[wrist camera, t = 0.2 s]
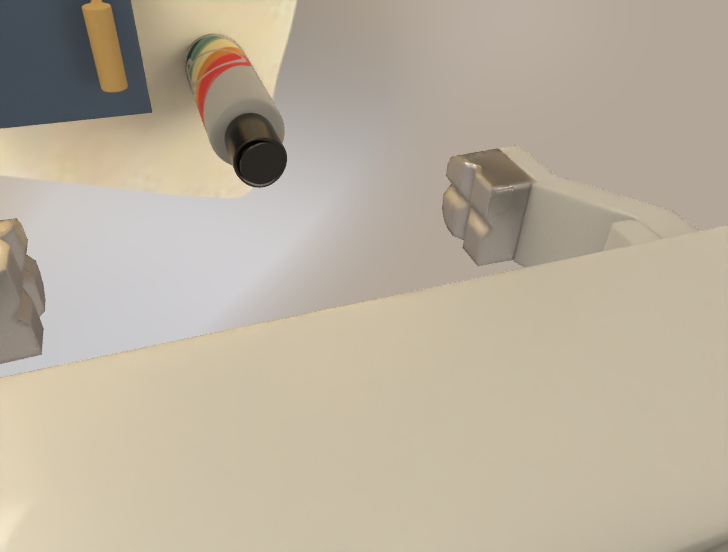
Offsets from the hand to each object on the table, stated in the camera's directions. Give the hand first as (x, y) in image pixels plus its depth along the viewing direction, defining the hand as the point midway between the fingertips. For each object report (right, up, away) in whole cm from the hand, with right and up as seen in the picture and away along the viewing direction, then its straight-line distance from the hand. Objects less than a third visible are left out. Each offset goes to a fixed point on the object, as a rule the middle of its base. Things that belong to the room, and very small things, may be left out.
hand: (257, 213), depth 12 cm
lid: (-21, +16, +31) cm, 41 cm away
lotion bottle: (-12, +18, +45) cm, 50 cm away
